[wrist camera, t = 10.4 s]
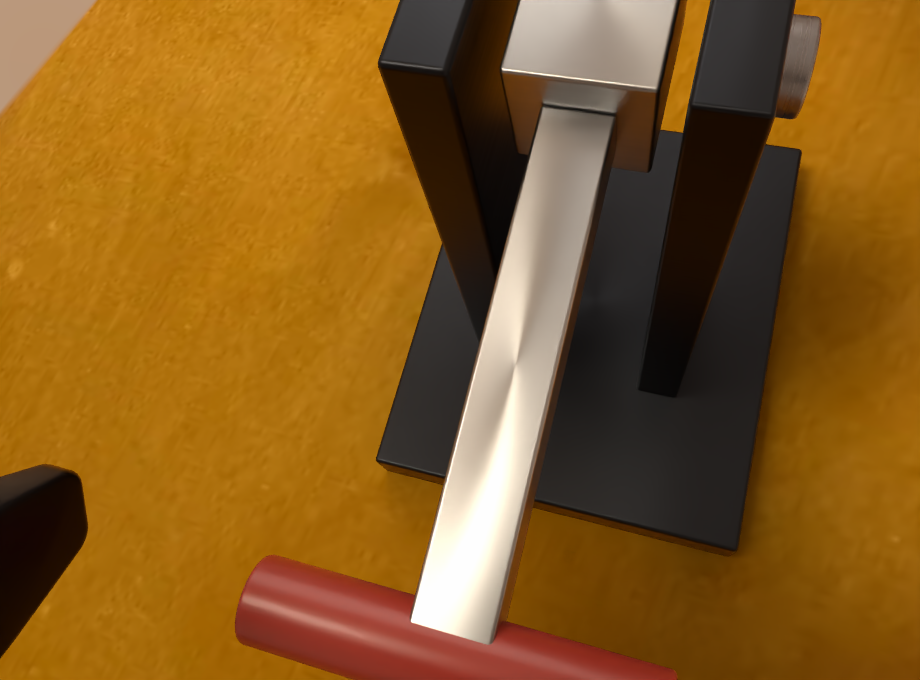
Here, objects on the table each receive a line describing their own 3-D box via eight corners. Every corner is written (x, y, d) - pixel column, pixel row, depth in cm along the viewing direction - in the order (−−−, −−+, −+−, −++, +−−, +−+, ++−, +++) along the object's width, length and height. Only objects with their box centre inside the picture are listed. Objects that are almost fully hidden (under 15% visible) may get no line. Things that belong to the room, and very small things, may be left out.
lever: (653, 753, 11) (664, 804, 8) (278, 635, 12) (200, 653, 10) (788, 34, 13) (825, -77, 11) (462, -2, 14) (435, -109, 12)
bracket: (729, 557, 20) (938, 426, 8) (384, 470, 22) (143, 262, 10) (793, 172, 23) (1007, -325, 11) (488, 127, 25) (399, -334, 13)
